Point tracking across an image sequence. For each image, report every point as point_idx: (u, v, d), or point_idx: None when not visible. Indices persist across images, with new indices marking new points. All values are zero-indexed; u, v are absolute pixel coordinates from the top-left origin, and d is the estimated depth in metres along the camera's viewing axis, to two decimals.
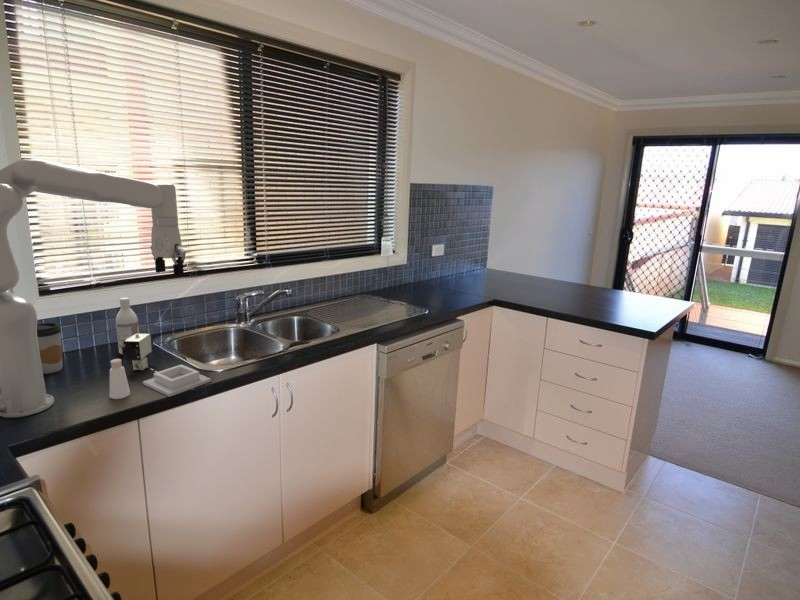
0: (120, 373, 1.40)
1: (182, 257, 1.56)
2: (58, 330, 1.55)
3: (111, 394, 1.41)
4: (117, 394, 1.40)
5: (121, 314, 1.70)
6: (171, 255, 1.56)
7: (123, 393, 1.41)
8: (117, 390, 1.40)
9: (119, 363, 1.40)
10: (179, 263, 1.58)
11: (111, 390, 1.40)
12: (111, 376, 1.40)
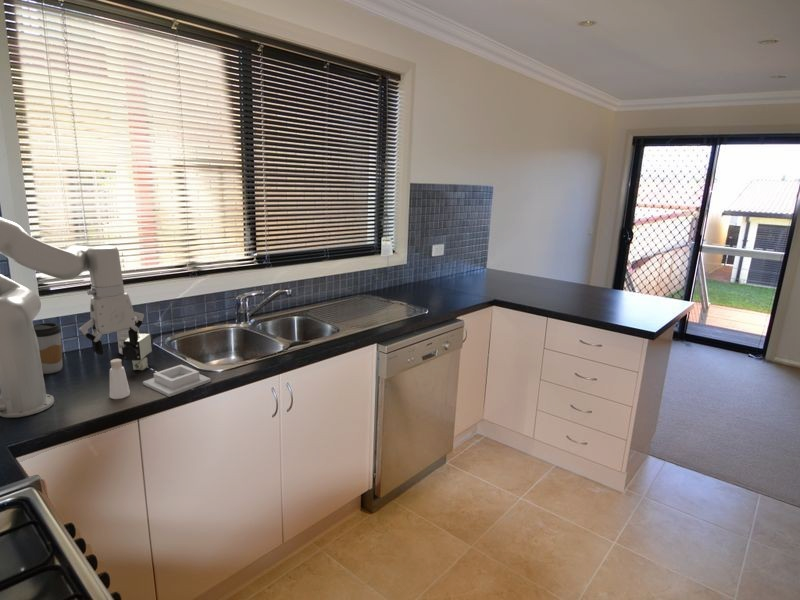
0: (120, 373, 1.40)
1: None
2: (58, 330, 1.55)
3: (111, 394, 1.41)
4: (117, 394, 1.40)
5: None
6: None
7: (123, 393, 1.41)
8: (117, 390, 1.40)
9: (119, 363, 1.40)
10: None
11: (111, 390, 1.40)
12: (111, 376, 1.40)
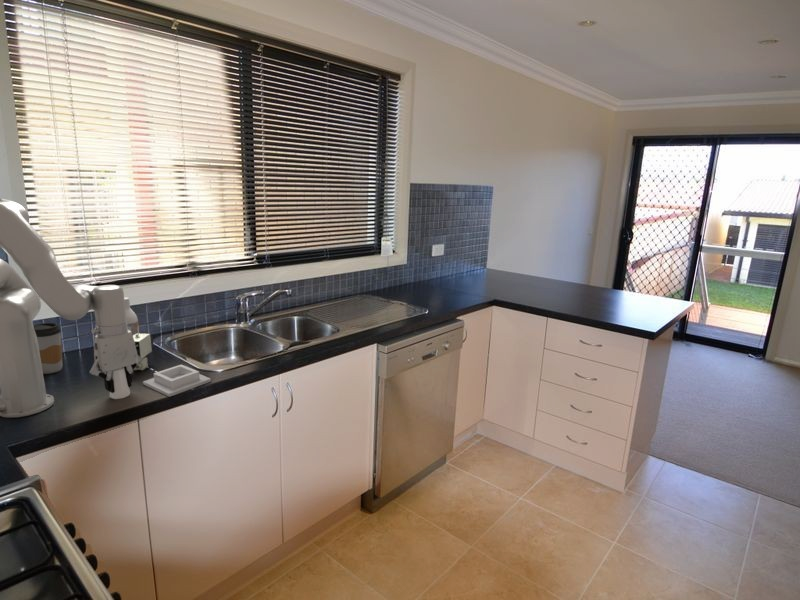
0: (120, 373, 1.40)
1: None
2: (58, 330, 1.55)
3: (111, 394, 1.41)
4: (117, 394, 1.40)
5: None
6: None
7: (123, 393, 1.41)
8: (117, 390, 1.40)
9: None
10: None
11: None
12: (111, 376, 1.40)
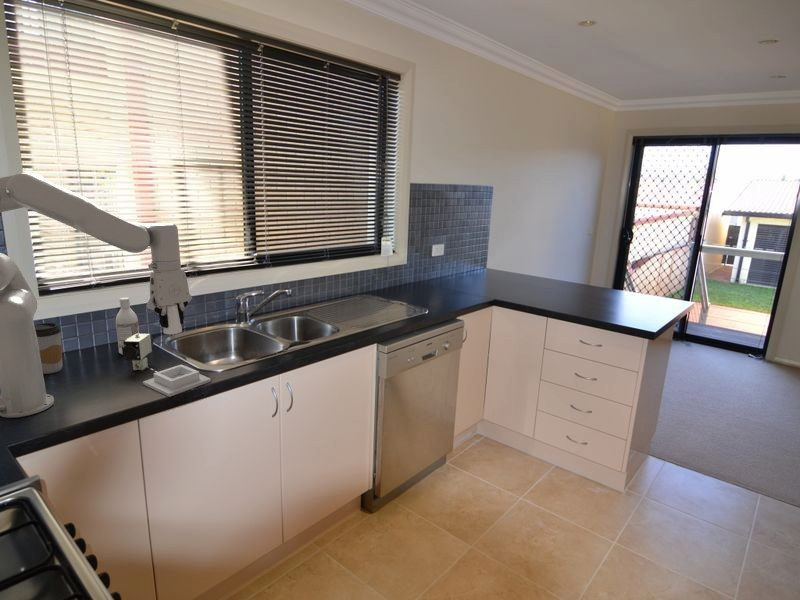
0: (174, 309, 1.45)
1: None
2: (58, 330, 1.55)
3: (165, 330, 1.46)
4: (171, 329, 1.46)
5: (121, 314, 1.70)
6: None
7: (176, 329, 1.46)
8: (171, 325, 1.45)
9: None
10: None
11: None
12: None
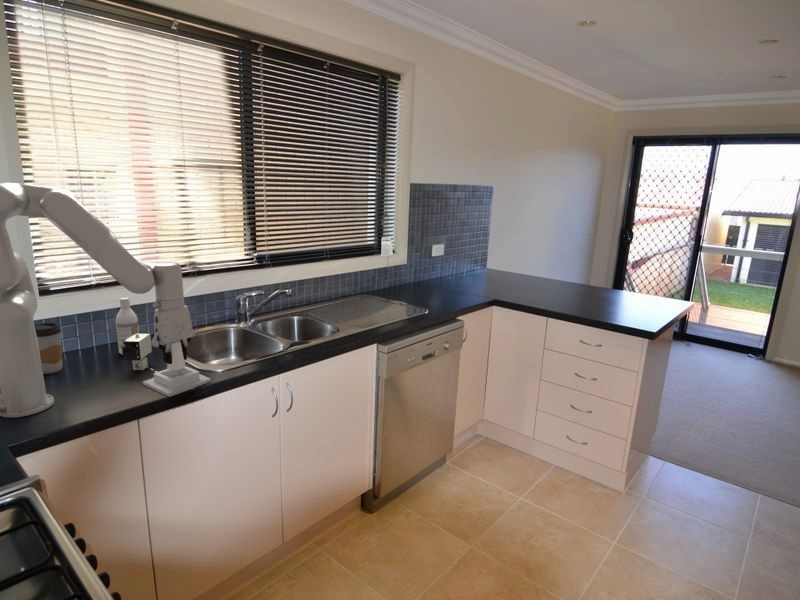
0: (178, 346, 1.48)
1: None
2: (58, 330, 1.55)
3: (169, 366, 1.49)
4: (174, 365, 1.49)
5: (121, 314, 1.70)
6: None
7: (180, 365, 1.49)
8: (175, 362, 1.48)
9: None
10: None
11: None
12: None
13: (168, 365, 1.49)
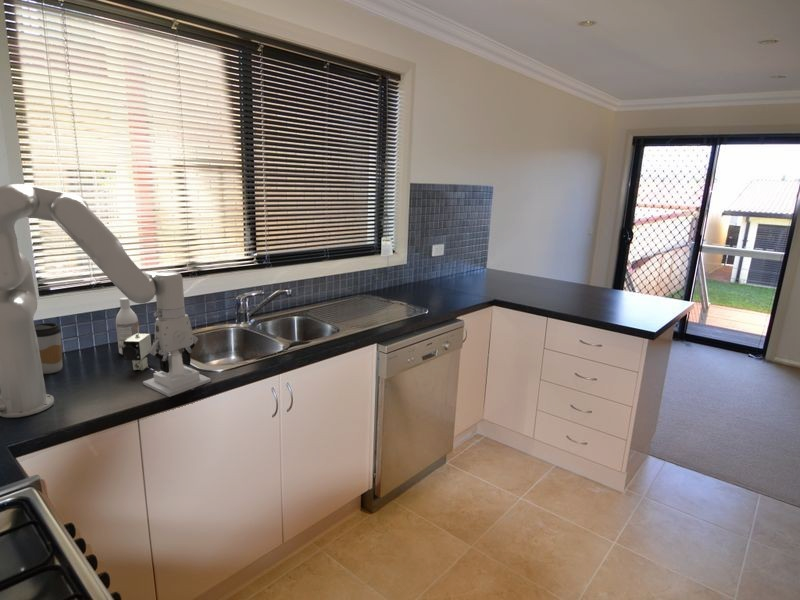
0: (178, 359, 1.49)
1: None
2: (58, 330, 1.55)
3: None
4: None
5: (121, 314, 1.70)
6: None
7: None
8: (175, 374, 1.49)
9: None
10: None
11: (169, 374, 1.50)
12: (170, 361, 1.49)
13: None
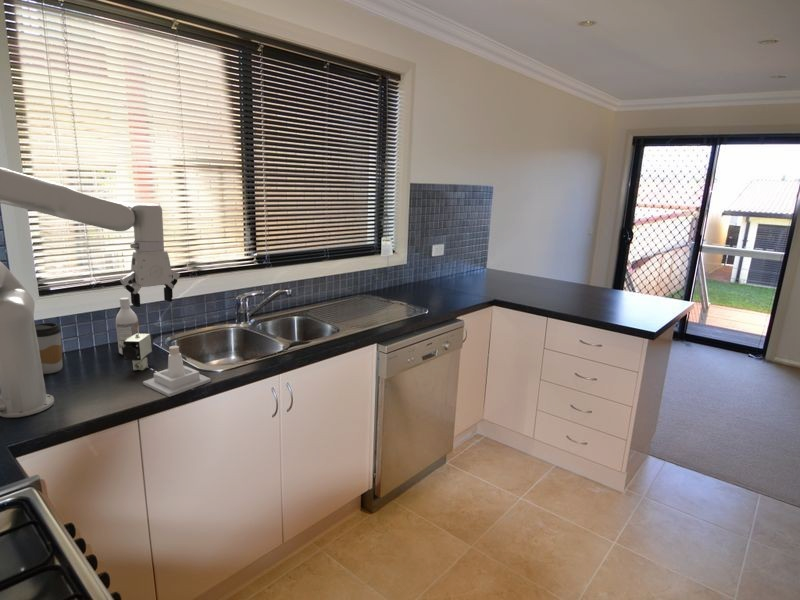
0: (178, 359, 1.49)
1: None
2: (58, 330, 1.55)
3: None
4: None
5: (121, 314, 1.70)
6: None
7: None
8: (175, 375, 1.49)
9: (177, 349, 1.49)
10: None
11: (169, 375, 1.50)
12: (170, 362, 1.49)
13: None
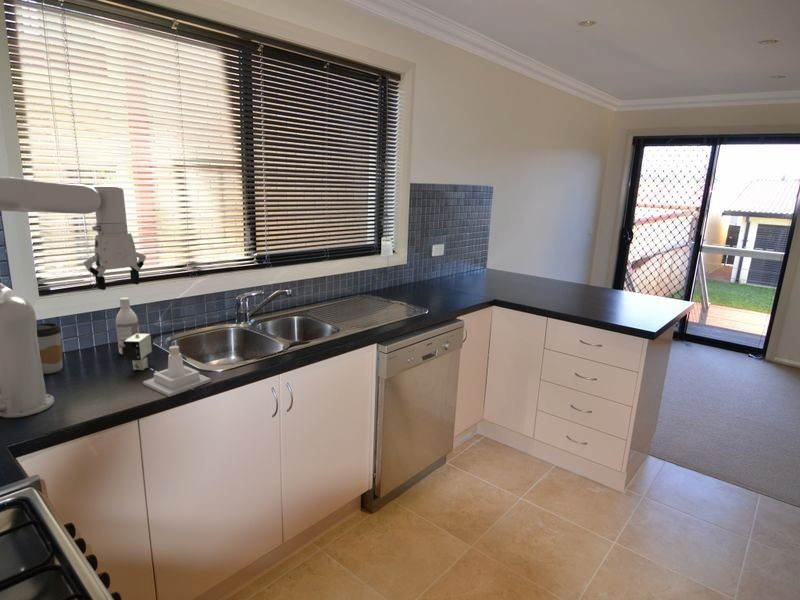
0: (178, 359, 1.49)
1: (143, 261, 1.50)
2: (58, 330, 1.55)
3: None
4: None
5: (121, 314, 1.70)
6: None
7: None
8: (175, 375, 1.49)
9: (177, 349, 1.49)
10: None
11: (169, 375, 1.50)
12: (170, 362, 1.49)
13: None
